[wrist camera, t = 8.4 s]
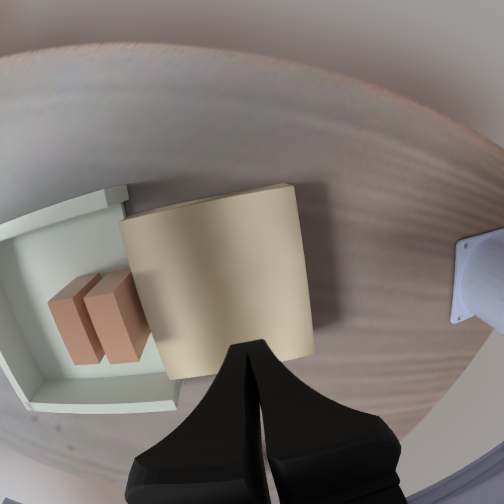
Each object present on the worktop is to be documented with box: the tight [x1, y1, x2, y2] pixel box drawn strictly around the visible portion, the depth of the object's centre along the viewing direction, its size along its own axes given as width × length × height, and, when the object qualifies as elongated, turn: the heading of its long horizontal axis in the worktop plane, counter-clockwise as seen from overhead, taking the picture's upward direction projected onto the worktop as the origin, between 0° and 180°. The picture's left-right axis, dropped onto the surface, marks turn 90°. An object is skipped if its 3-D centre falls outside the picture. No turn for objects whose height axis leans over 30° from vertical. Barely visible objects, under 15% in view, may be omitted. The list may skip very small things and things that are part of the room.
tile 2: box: [47, 272, 105, 365], centre depth 18 cm, size 4×4×2 cm
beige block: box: [118, 183, 315, 380], centre depth 19 cm, size 10×11×3 cm
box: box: [0, 185, 182, 414], centre depth 18 cm, size 14×15×4 cm
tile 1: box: [83, 268, 151, 364], centre depth 18 cm, size 4×4×2 cm
